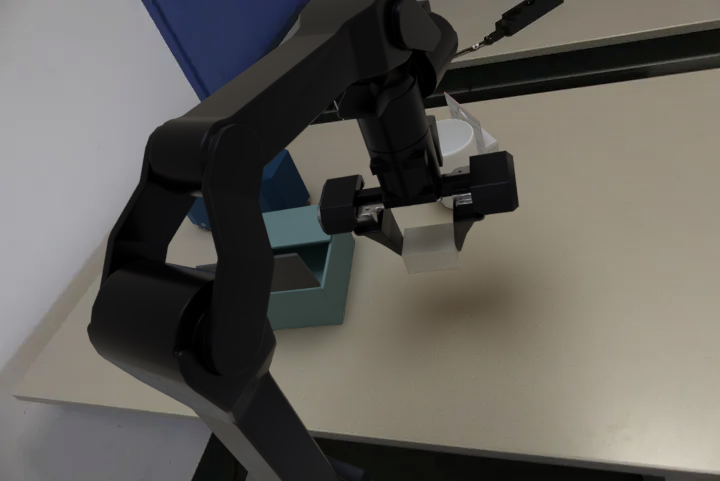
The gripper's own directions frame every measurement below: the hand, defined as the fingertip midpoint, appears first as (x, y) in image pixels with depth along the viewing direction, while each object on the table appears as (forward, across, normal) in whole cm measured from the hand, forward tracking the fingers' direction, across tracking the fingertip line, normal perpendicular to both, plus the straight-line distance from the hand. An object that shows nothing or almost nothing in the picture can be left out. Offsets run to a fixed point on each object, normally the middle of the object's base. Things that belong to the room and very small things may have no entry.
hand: (432, 251), depth 56 cm
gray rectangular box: (+1, 0, 0) cm, 1 cm away
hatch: (0, +20, +1) cm, 20 cm away
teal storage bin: (+12, +21, -7) cm, 25 cm away
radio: (+12, +34, -24) cm, 43 cm away
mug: (+12, 0, -22) cm, 26 cm away
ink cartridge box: (+12, -4, -31) cm, 33 cm away
